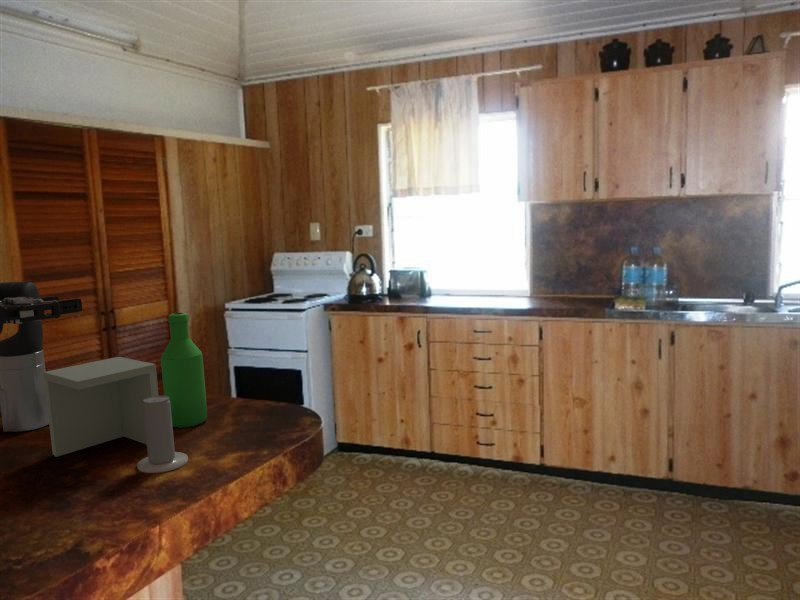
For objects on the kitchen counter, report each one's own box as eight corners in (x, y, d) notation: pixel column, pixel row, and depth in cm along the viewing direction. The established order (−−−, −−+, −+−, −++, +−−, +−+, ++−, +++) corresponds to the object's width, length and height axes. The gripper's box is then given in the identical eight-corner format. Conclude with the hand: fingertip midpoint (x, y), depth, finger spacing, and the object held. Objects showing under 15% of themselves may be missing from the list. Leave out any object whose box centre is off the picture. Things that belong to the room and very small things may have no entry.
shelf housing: (87, 470, 122) (77, 381, 119) (52, 455, 131) (43, 372, 128) (163, 445, 133) (155, 364, 131) (126, 433, 143) (118, 356, 140)
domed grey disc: (137, 476, 118) (136, 473, 118) (137, 459, 126) (137, 456, 126) (189, 467, 121) (189, 464, 121) (186, 451, 129) (186, 449, 129)
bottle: (195, 429, 143) (185, 316, 140) (159, 428, 145) (148, 317, 141) (214, 417, 152) (205, 310, 148) (180, 416, 153) (170, 310, 150)
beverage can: (180, 457, 125) (175, 396, 123) (164, 466, 120) (158, 403, 119) (159, 455, 126) (154, 394, 125) (142, 464, 122) (136, 402, 120)
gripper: (-25, 295, 95) (86, 283, 107) (-58, 291, 104) (48, 280, 116) (-18, 346, 96) (91, 328, 108) (-52, 337, 105) (53, 321, 117)
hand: (69, 303), depth 112 cm, fingers open, 8 cm apart
